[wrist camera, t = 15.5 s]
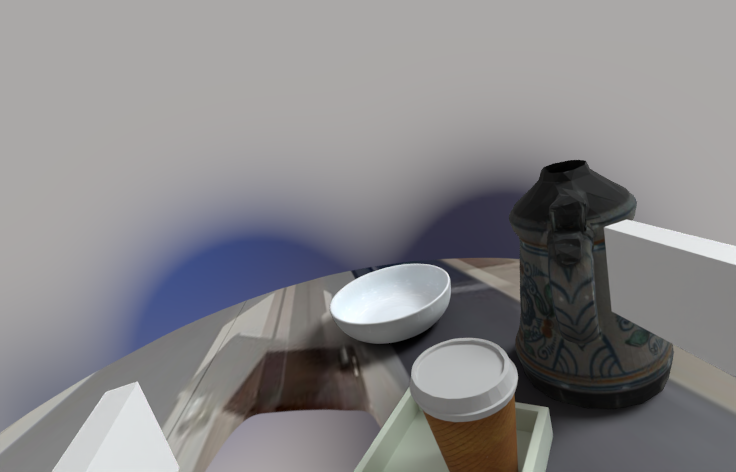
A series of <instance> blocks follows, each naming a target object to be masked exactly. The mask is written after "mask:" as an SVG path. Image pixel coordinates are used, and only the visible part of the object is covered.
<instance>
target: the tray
mask: <svg viewBox="0 0 736 472" xmlns="http://www.w3.org/2000/svg"><path fill="white" fill-rule="evenodd" d="M515 411H516V413H515V414H516V434H517V455H518V472H545V471H546V467H547V462H548V457H549V453H550V448H551V443H552V439H553V431H552V425H551V420H550V414H549V408H548V407H543V406H536V405H530V404H524V403H518V402H515ZM436 442H437V441H436V440H435V438H434V435H433V433H432V431H431V429H430V426H429V424H428V422H427V420H426V417H425V415H424V413H423V410H422V409H421V408H420V407H419V405H418V404H417V403H416V402H415V401H414V399H413V397H412V395H411V393H410V388H408V390H407V391H406V393H405V394H404V396H403V397H402V399H401V400H400V402H399V403H398V405H397V406H396V408H395V409H394V411H393V412H392V414H391V416H390V417H389V419H388V420H387V422H386V423H385V425H384V426H383V428H382V429H381V431H380V432H379V434H378V435H377V437H376V438H375V440H374V441H373V443H372V445H371V446H370V447H369V449H368V450H367V452H366V454H365V455H364V457H363V458H362V460H361V461H360V463H359V464H358V466H357V467H356V469H355V470H354V472H449V470H448V467H447V465H446V463H445V461H444V458H443V456H442V454H441V451H440V449H439V446H438V445H437V443H436Z"/></svg>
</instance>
